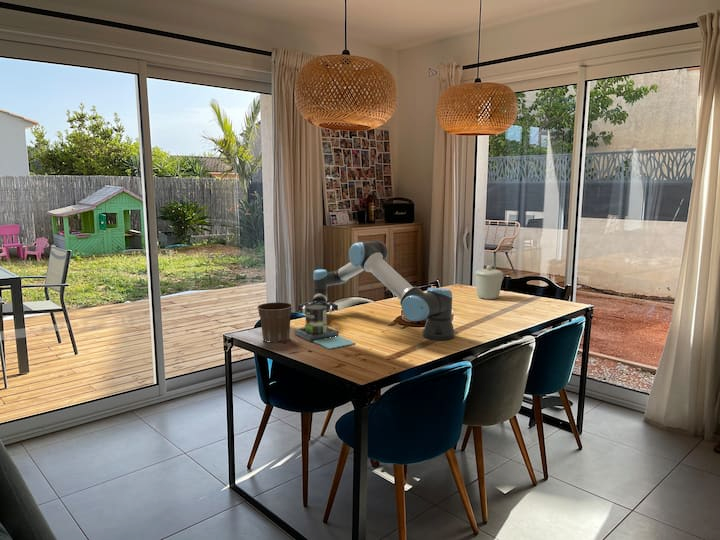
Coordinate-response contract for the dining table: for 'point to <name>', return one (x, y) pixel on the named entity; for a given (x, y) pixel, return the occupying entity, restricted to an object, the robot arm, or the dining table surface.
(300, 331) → the socket frame
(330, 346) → the mat
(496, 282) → the canister
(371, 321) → the dining table surface
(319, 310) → the coffee can
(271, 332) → the plant pot
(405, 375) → the dining table surface
